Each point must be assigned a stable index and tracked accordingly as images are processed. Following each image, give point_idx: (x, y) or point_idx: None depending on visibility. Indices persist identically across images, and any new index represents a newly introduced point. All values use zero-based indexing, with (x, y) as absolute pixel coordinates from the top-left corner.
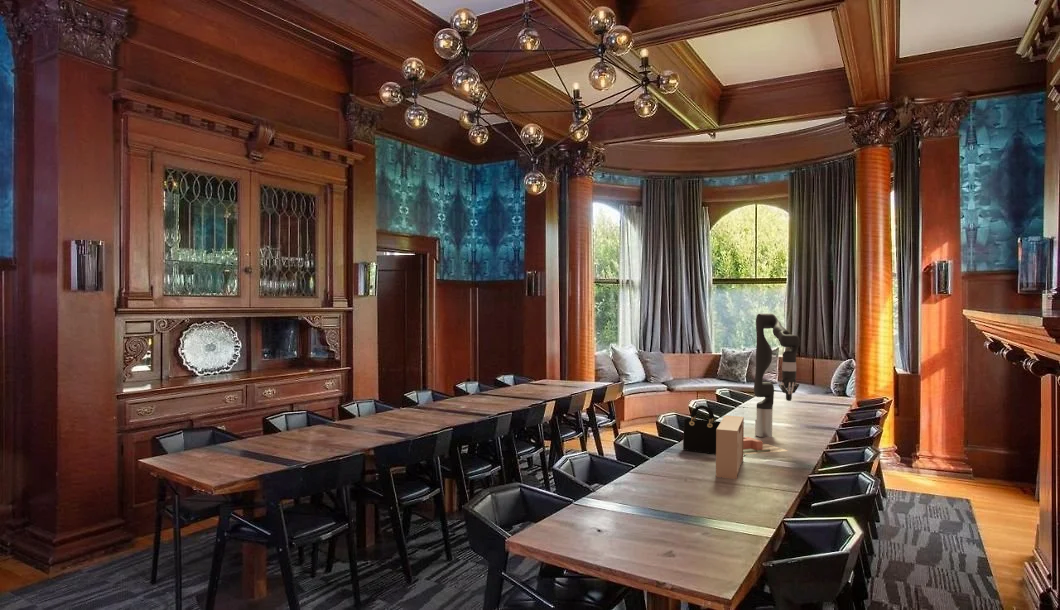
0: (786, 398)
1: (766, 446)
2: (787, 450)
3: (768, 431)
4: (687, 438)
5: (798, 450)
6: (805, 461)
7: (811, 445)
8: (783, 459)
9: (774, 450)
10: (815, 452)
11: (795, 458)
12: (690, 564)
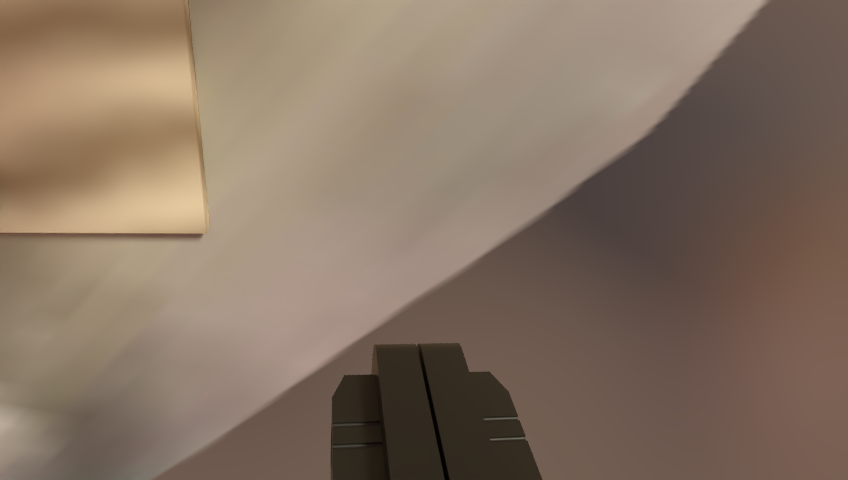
0: (335, 423)
1: (89, 14)
2: (204, 219)
3: None
4: None
5: (369, 175)
6: (163, 434)
7: (644, 61)
8: (24, 365)
9: (73, 184)
10: (447, 266)
11: (145, 363)
12: None
